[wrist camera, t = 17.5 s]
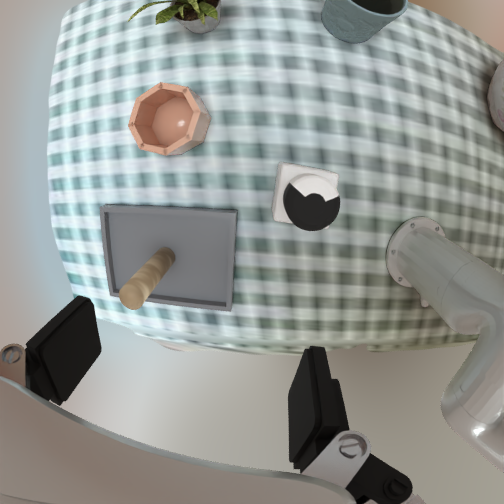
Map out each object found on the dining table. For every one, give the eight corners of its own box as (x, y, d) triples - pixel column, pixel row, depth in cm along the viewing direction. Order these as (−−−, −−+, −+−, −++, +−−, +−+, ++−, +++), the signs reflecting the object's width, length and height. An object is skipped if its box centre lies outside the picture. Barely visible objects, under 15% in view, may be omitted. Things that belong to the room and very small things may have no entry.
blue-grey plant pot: (328, 48, 31) (350, 16, 20) (306, -1, 28) (319, -41, 16) (385, 45, 30) (420, 19, 18) (363, -3, 26) (388, -36, 15)
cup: (219, 133, 36) (210, 129, 30) (166, 163, 38) (148, 166, 32) (192, 83, 34) (178, 71, 27) (141, 115, 36) (120, 110, 29)
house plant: (211, 80, 34) (180, 39, 18) (141, 48, 31) (87, 11, 16) (265, 13, 29) (266, -48, 14) (193, -14, 27) (165, -69, 12)
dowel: (178, 261, 43) (147, 304, 30) (163, 268, 43) (129, 312, 31) (168, 243, 42) (132, 282, 29) (153, 252, 42) (114, 291, 30)
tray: (237, 210, 40) (236, 213, 38) (232, 304, 46) (231, 311, 44) (106, 204, 41) (99, 207, 39) (115, 290, 46) (110, 295, 44)
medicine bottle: (318, 216, 40) (339, 242, 29) (271, 209, 40) (274, 232, 29) (327, 170, 38) (352, 178, 27) (278, 161, 38) (285, 165, 26)
